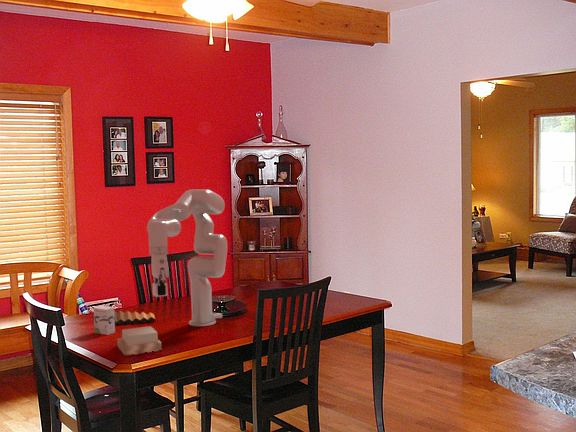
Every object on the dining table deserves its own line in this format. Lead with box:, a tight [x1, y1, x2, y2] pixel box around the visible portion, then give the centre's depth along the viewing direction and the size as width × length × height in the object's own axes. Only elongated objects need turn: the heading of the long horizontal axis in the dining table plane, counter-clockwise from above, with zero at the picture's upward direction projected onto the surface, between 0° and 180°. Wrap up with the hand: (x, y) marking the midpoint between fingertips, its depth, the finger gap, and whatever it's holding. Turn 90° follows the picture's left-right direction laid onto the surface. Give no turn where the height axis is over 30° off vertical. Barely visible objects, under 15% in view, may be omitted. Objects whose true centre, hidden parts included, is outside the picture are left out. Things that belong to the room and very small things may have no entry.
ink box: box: [93, 305, 116, 336], centre depth 313 cm, size 9×5×12 cm, turn 60°
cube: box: [151, 282, 169, 298], centre depth 287 cm, size 5×5×5 cm
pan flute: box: [114, 310, 156, 327], centre depth 339 cm, size 25×3×25 cm
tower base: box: [117, 337, 163, 356], centre depth 285 cm, size 15×15×4 cm
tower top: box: [121, 325, 159, 346], centre depth 285 cm, size 12×12×4 cm
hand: (160, 293), depth 288 cm, fingers closed on cube, 5 cm apart
